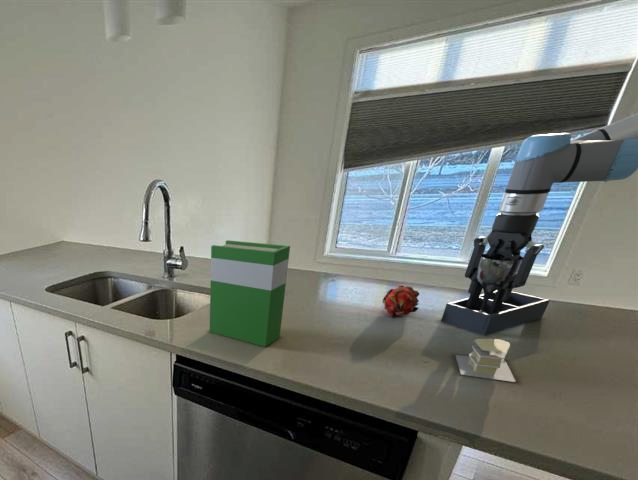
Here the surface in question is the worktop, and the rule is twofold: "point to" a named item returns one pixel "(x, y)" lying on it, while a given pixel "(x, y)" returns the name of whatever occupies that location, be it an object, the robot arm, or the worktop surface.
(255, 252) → the hardback book
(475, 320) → the divided tray
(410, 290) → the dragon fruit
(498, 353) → the stacked layers on plate
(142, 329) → the worktop surface
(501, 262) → the wine glass
